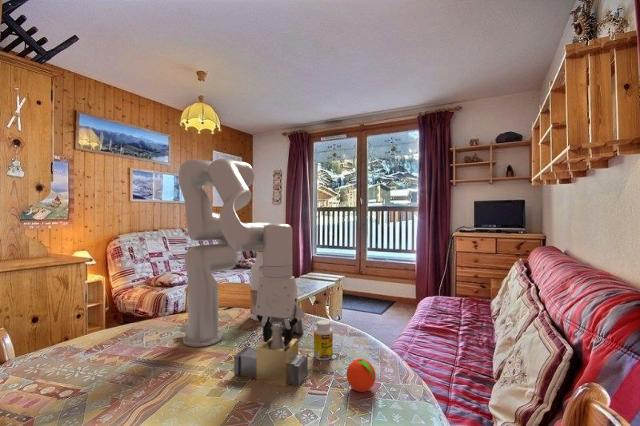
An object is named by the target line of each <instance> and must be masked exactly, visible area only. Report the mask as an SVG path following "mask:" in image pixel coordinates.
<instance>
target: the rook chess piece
mask: <svg viewBox="0 0 640 426" xmlns="http://www.w3.org/2000/svg"><path fill="white" fill-rule="evenodd" d="M278 323H279V324H277V322H275V324H274V323H272V326H271V329H272V344H271V347H272V348H280V349H284V348H285V346H284V344H283V341H282V337H283V333H282V328H283V326H282V323H280V322H278Z"/></svg>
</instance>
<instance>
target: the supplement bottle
mask: <svg viewBox="0 0 640 426" xmlns="http://www.w3.org/2000/svg"><path fill="white" fill-rule="evenodd" d="M332 328H333V327H331V321H330V320H328V319H327V320H326V319H320V320H318V321H316V327H315V328H314V329H313V356H314V358H315V359H316V360H319V361H328V360H330V359H332V357H333V351H334V350H333V349H334V347H333V343H334V342H333V341H334V340H333V339H334V337H333V336H334V335H333V331H334V330H333V329H332Z"/></svg>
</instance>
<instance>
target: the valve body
mask: <svg viewBox="0 0 640 426" xmlns="http://www.w3.org/2000/svg"><path fill="white" fill-rule="evenodd" d="M282 341H283V344H284V336H282ZM271 344H272V338H271V339H270V340H268V341H267V342H264V341H263V342H262V343H260V344H259V345H258V346H257V347H256V348H253V347H251V346H248V345H247V346H246V347H244V348H243V349H242V350H240V351H239V352H237V353H236V354H235V355H234V356H233V376H235V377H239V376H243V377H250V378H255V379H256V382H258V383H262V384H269V385H274V386H280V387H284V388H287V386H288V385H293V387H297V388H299V387H300V386H301V384H302V383H303V382H304V380H305V379H306V378H307V376H308V370H309V369H308V368H309V366H308V360H309V359H308V356H309V355H308V354H302V355H299V339H298V338H292V340H291V342H290V343H289V344H288V345H285V344H284V346H285V348H284V349H280V348H272V347H271Z"/></svg>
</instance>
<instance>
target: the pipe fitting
mask: <svg viewBox="0 0 640 426" xmlns="http://www.w3.org/2000/svg"><path fill="white" fill-rule="evenodd" d="M296 316H297V313H295V314H293V319H294V318H295V317H296ZM275 322H277V324H279V323H278V322H280V323H282V326H283V328H282V334H284V329H285V328H286V325H285V321H284V319H282V318H273V317H271V319H270V323H271V324H272V323H274V324H275ZM293 332H294V333H296V334H304V317H303V318H302V319H301V320H299V321H298V322H297V323H296V324H295V325H294V326H293Z"/></svg>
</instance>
